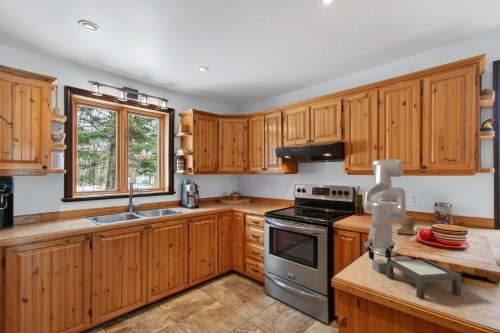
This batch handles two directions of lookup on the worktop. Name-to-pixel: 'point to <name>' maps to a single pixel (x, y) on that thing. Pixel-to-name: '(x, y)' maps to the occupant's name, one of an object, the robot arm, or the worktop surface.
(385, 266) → the grey cube
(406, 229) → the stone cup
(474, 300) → the worktop surface
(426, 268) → the trapdoor
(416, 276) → the frame
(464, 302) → the worktop surface
